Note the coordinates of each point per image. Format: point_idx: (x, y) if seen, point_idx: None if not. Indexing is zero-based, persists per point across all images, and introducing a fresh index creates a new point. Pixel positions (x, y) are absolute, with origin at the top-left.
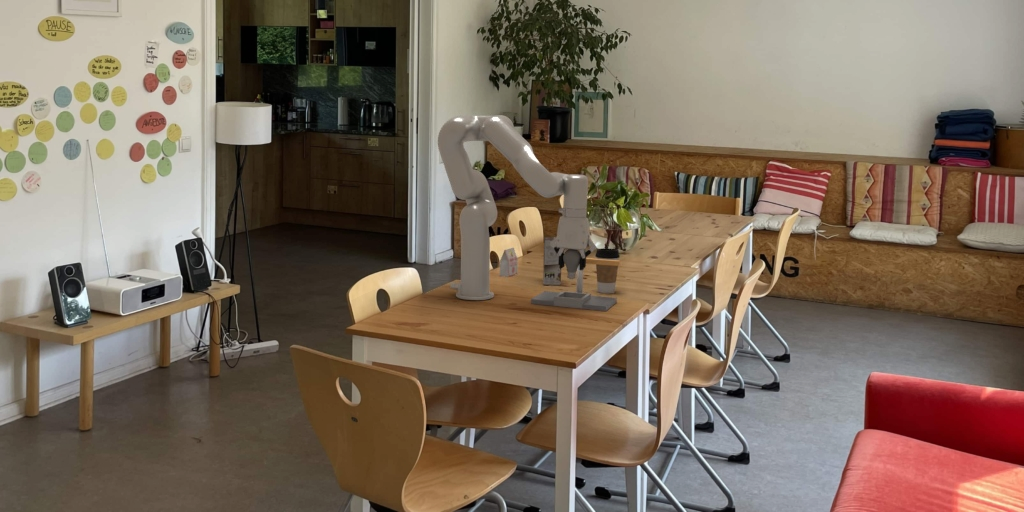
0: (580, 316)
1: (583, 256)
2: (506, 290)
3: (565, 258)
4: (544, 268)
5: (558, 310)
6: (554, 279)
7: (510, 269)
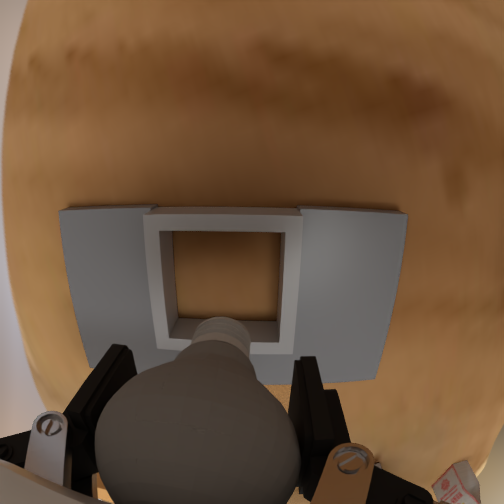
0: (129, 71)
1: (51, 427)
2: (477, 366)
3: (249, 404)
4: None
5: (249, 128)
6: None
7: (453, 480)
